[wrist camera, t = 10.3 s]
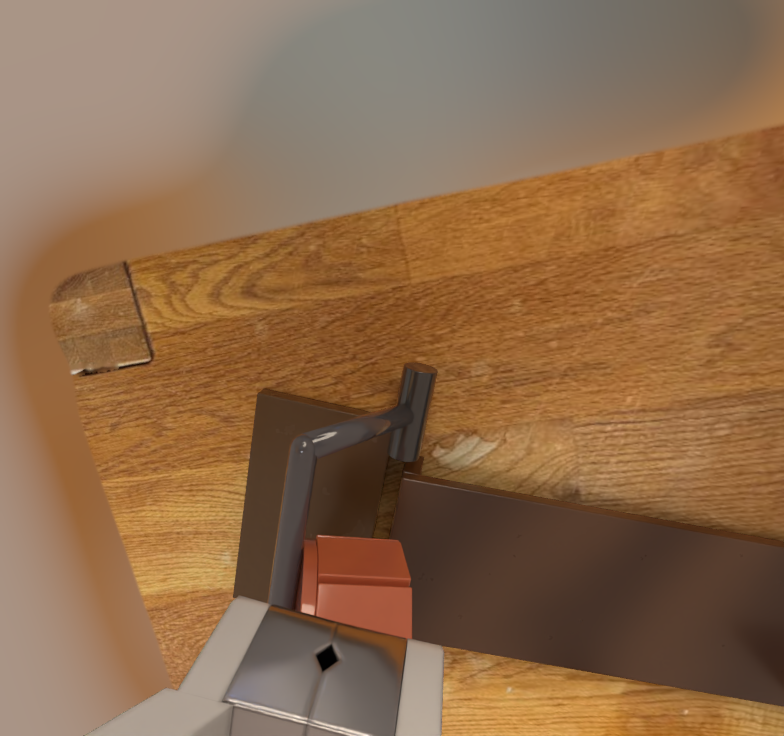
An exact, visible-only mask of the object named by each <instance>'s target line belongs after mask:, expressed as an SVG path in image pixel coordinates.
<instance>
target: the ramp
mask: <svg viewBox="0 0 784 736" xmlns="http://www.w3.org/2000/svg"><path fill="white" fill-rule="evenodd" d="M423 460H424V457H422V456H420V457H419V459H418V460H417V461H415V462H405V464H404V468H403V472H402V477H401V482H400V487H399V492H398V497H397V501H396V506H395V511H394V516H393V521H392V525H391V530H390V535H389V539H392V540H399V542H401V545H402V549H403V552H404V556H405V559H406V563H407V566H408V570H409V573H410V577H411V582H410V586H409V587H411V588H412V639H414V640H418V641H423V642H427V643H431V644H436V645H440V646H446V647H452V648H457V649H463V650H469V651H474V652H480V653H485V654H491V655H497V656H502V657H508V658H514V659H519V660H525V661H531V662H536V663H542V664H547V665H553V666H559V667H564V668H570V669H576V670H581V671H587V672H592V673H598V674H604V675H609V676H615V677H621V678H626V679H632V680H637V681H643V682H649V683H654V684H660V685H666V686H671V687H677V688H682V689H688V690H694V691H699V692H705V693H711V694H716V695H722V696H727V697H733V698H739V699H744V700H750V701H756V702H761V703H767V704H772V705H778V706H784V542H783V541H778V540H772V539H767V538H761V537H756V536H750V535H745V534H739V533H734V532H728V531H723V530H717V529H712V528H706V527H701V526H695V525H690V524H685V523H679V522H674V521H668V520H663V519H657V518H652V517H646V516H641V515H635V514H630V513H624V512H619V511H613V510H608V509H602V508H597V507H592V506H586V505H581V504H575V503H570V502H564V501H559V500H553V499H548V498H542V497H537V496H531V495H526V494H520V493H515V492H510V491H504V490H499V489H493V488H488V487H482V486H477V485H471V484H466V483H460V482H455V481H449V480H444V479H438V478H433V477H427V476H422V475H421V472H422V466H423Z"/></svg>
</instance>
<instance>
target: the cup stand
mask: <svg viewBox="0 0 784 736" xmlns="http://www.w3.org/2000/svg"><path fill="white" fill-rule="evenodd" d="M369 413H372V412H368V411H364V410H359V409H355V408H350V407H345V406H341V405H336V404H332V403H327V402H323V401H318V400H314V399H309V398H304V397H300V396H295V395H291V394H286V393H282V392H277V391H273V390H268V389H263V390H261V391H260V392H259V393H258V395H257V403H256V411H255V420H254V428H253V436H252V445H251V453H250V461H249V469H248V478H247V486H246V494H245V503H244V511H243V519H242V528H241V536H240V544H239V552H238V561H237V569H236V577H235V586H234V594H233V598H237V597H238V596H239V595H240V596H243V597H247V598H250V599H254V600H257V601H261V602H264V603H267V602H268V595H269V588H270V581H271V574H272V566H273V559H274V552H275V545H276V538H277V531H278V524H279V517H280V510H281V503H282V496H283V489H284V482H285V475H286V468H287V461H288V454H289V447H290V443H291V441H292V440H293V438H295V437H296V436H297V435H299V434H302V433H306V432H309V431H312V430H316V429H319V428H322V427H326V426H329V425H332V424H335V423H339V422H342V421H345V420H349V419H352V418H355V417H359V416H362V415H365V414H369ZM389 438H390V433H387V434H384V435H382V436H379V437H376V438H373V439H371V440H368V441H365V442H363V443H360V444H357V445H355V446H352V447H349V448H346V449H344V450H341V451H338V452H336V453H333V454H330V455H328V456H325V457H322V458H319V459H318V460H317V466H316V472H315V479H314V485H313V491H312V498H311V504H310V510H309V516H308V523H307V529H306V535H305V538H315V537H316V536H317V535H332V536H347V537H362V538H373V535H374V530H375V525H376V520H377V515H378V510H379V505H380V500H381V495H382V490H383V484H384V479H385V474H386V469H387V464H388V459H389V455H388V454H387V448H388V443H389Z"/></svg>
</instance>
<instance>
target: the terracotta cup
mask: <svg viewBox="0 0 784 736" xmlns="http://www.w3.org/2000/svg"><path fill="white" fill-rule="evenodd" d="M437 373H438V371H437V369H435V368H433V367H431V366H428V365H425V364H421V363H405V364H404V366H403V371H402V376H401V381H400V387H399V392H398V397H397V402H396V405H395V406H392V407H388V408H385V409H382V410H378V411H375V412H372V413H369V414H365V415H362V416H359V417H355V418H352V419H349V420H345V421H342V422H339V423H335V424H332V425H329V426H326V427H322V428H319V429H316V430H312V431H309V432H306V433H302V434H299V435H297V436H296V437H295V438H293V440H292V441H291V443H290V447H289V454H288V461H287V468H286V475H285V482H284V489H283V496H282V503H281V510H280V517H279V524H278V531H277V538H276V545H275V552H274V559H273V566H272V574H271V581H270V588H269V595H268V602H267V603H268V604H271V605H272V604H275V605H278V606H282V607H286V608H289V609H293V610H296V611H300V612H304V613H307V614H311V615H314V616H318V617H322V618H325V619H329V620H332V621H336V622H341V623H345V624H349V625H353V626H358V627H362V628H366V629H370V630H374V631H378V632H383V633H387V634H391V635H395V636H399V637H403V638H406V640H407V639H408V638H410V639H412V588H411V587H409V586H410V582H411V577H410V573H409V570H408V566H407V563H406V559H405V556H404V552H403V549H402V545H401V542H399V540H392V539H377V538H362V537H347V536H332V535H317V536H316V537H315V538H305V535H306V529H307V523H308V516H309V510H310V504H311V498H312V491H313V485H314V479H315V472H316V466H317V460H318V459H319V458H322V457H325V456H328V455H330V454H333V453H336V452H338V451H341V450H344V449H346V448H349V447H352V446H355V445H357V444H360V443H363V442H365V441H368V440H371V439H373V438H376V437H379V436H382V435H384V434H387V433H390V438H389V443H388V448H387V454H388V455H389V456H390V457H392V458H393V459H396V460H398V461H402V462H415V461H417V460H418V459H419V457H420V452H421V448H422V443H423V438H424V434H425V429H426V424H427V420H428V415H429V410H430V406H431V401H432V396H433V392H434V387H435V383H436V378H437Z"/></svg>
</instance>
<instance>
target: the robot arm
mask: <svg viewBox="0 0 784 736" xmlns="http://www.w3.org/2000/svg"><path fill="white" fill-rule="evenodd" d="M443 674H444V650H443V648H442V646H440V645H436V644H431V643H427V642H423V641H418V640H414V639H410V638H408V639H407V640H406V638H403V637H399V636H395V635H391V634H387V633H383V632H378V631H374V630H370V629H366V628H362V627H358V626H353V625H349V624H345V623H341V622H336V621H332V620H329V619H325V618H322V617H318V616H314V615H311V614H307V613H304V612H300V611H296V610H293V609H289V608H286V607H282V606H278V605H275V604H272V605H271V604H268V603H264V602H261V601H257V600H254V599H250V598H247V597H243V596H240V595H239V596H238V597H237V598H235V599H234V600H233V601H232V602H231V603H230V605H229V606H228V608H227V610H226V611H225V613H224V615H223V616H222V618H221V619H220V621H219V623H218V624H217V626H216V628H215V629H214V631H213V633H212V634H211V636H210V637H209V639H208V641H207V642H206V644H205V646H204V647H203V649H202V651H201V652H200V654H199V655H198V657H197V659H196V660H195V662H194V664H193V665H192V667H191V669H190V670H189V672H188V673H187V675H186V677H185V678H184V680H183V682H182V683H181V685H180V687H179V688H178V690H174V689H170V688H165V689H163V690H161V691H160V692H158V693H156V694H154V695H152V696H151V697H149V698H147V699H146V700H144V701H142V702H141V703H139V704H137V705H135V706H134V707H132V708H130V709H129V710H127V711H125V712H123V713H122V714H120V715H118V716H117V717H115V718H113V719H112V720H110V721H108V722H107V723H105V724H103V725H101V726H100V727H98V728H96V729H95V730H93V731H91V732H90V733H88V734H86V735H84V736H441V733H442V703H443Z"/></svg>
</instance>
